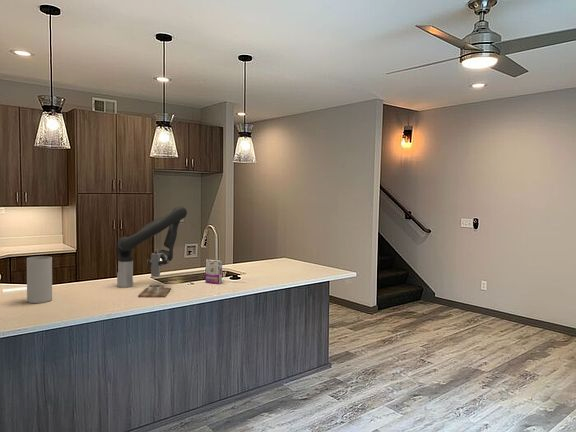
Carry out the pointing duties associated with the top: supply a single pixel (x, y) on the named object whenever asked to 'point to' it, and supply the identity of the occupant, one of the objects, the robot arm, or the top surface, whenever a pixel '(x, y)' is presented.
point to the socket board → (155, 291)
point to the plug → (155, 264)
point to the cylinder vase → (39, 279)
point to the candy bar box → (213, 271)
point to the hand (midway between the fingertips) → (154, 263)
